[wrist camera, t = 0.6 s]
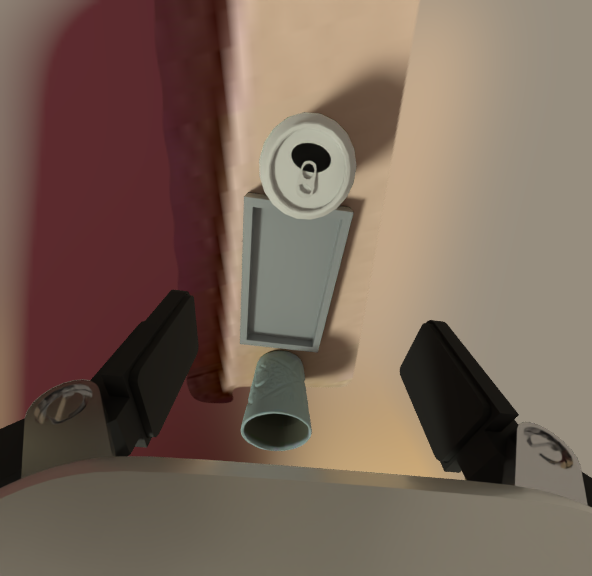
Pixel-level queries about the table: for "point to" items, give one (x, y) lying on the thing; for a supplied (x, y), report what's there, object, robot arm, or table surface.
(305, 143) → the can
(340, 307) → the table surface
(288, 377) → the green cup
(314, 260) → the tray
